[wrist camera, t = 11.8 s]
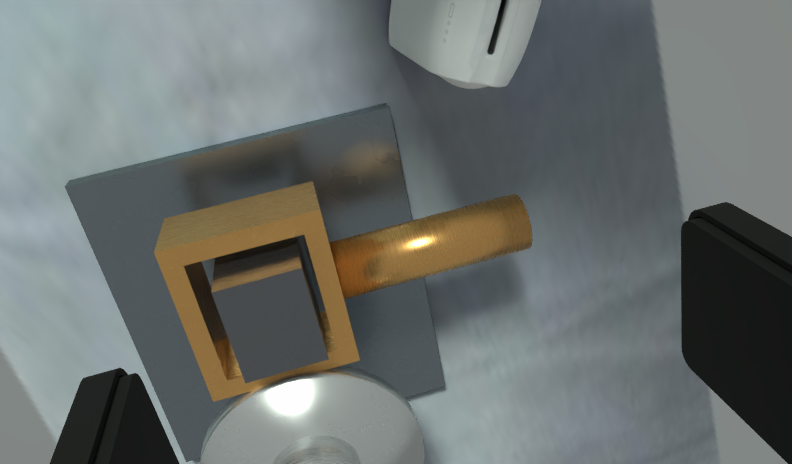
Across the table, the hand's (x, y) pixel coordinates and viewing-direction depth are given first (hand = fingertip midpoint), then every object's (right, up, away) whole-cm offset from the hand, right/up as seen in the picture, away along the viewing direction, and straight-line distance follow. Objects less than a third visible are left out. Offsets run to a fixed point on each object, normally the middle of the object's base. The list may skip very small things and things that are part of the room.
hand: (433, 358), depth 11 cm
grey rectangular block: (-8, +2, +28) cm, 29 cm away
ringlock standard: (-5, -2, +31) cm, 32 cm away
